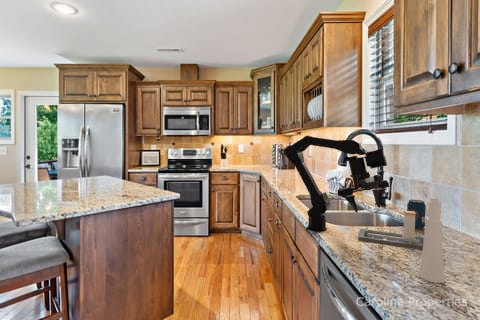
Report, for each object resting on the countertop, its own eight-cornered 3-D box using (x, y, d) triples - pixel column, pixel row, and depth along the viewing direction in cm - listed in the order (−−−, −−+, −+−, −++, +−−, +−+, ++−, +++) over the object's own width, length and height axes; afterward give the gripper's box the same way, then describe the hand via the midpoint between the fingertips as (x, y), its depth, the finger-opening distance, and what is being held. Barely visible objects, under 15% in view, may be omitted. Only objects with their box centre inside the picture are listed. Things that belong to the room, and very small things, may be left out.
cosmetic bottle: (413, 275, 76) (416, 196, 75) (427, 271, 78) (430, 195, 77) (436, 285, 70) (440, 200, 69) (450, 280, 73) (454, 199, 72)
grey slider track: (358, 239, 104) (358, 232, 104) (360, 231, 115) (360, 224, 115) (434, 251, 94) (434, 242, 93) (428, 240, 104) (428, 232, 104)
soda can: (402, 226, 123) (403, 200, 123) (412, 224, 126) (413, 198, 126) (418, 230, 117) (419, 202, 116) (428, 228, 120) (429, 201, 119)
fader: (402, 239, 101) (403, 212, 101) (401, 236, 105) (402, 210, 104) (416, 241, 99) (417, 213, 99) (414, 238, 103) (416, 211, 102)
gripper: (344, 174, 99) (354, 217, 98) (393, 164, 100) (403, 206, 99) (333, 175, 110) (341, 214, 109) (376, 166, 111) (385, 204, 110)
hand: (367, 209), depth 107 cm, fingers open, 9 cm apart
